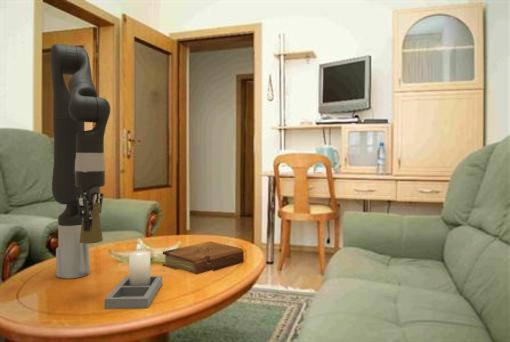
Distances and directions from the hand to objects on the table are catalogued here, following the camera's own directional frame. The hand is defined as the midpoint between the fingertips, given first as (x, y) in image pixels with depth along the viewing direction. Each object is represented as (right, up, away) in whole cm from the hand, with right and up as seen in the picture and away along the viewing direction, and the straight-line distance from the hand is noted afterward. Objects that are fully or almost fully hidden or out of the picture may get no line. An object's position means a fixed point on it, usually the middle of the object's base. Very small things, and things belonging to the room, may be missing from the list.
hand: (90, 231), depth 109 cm
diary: (+27, -18, +36) cm, 48 cm away
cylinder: (+12, -18, +6) cm, 23 cm away
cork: (0, -3, 0) cm, 3 cm away
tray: (+12, -19, +2) cm, 23 cm away
